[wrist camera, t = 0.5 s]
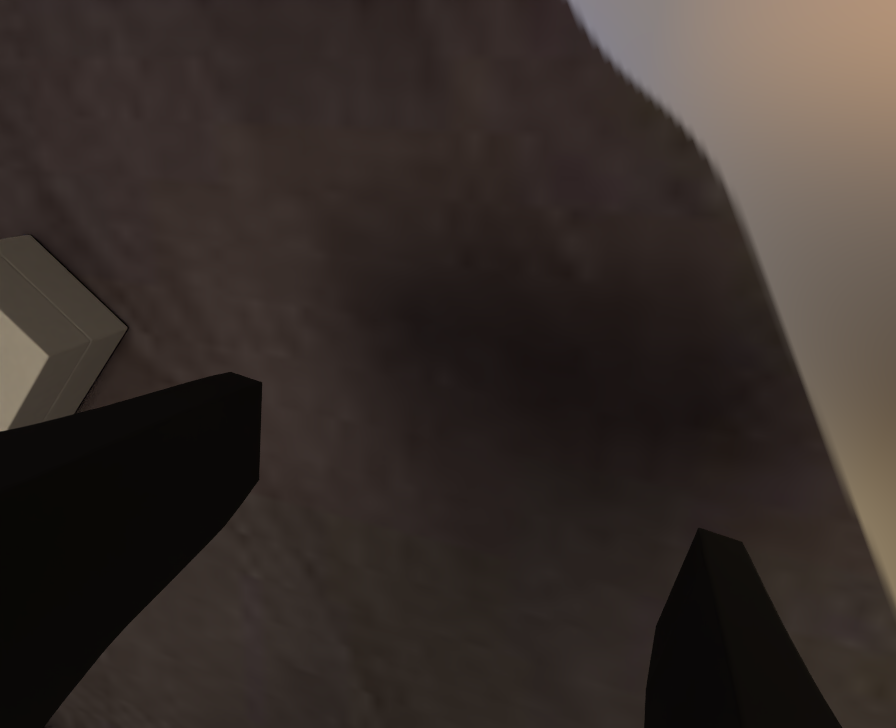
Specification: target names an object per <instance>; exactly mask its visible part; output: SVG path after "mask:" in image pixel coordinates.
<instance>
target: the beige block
mask: <svg viewBox="0 0 896 728" xmlns="http://www.w3.org/2000/svg"><path fill="white" fill-rule="evenodd" d="M126 330H127V326H126V325H125V324H124V323H123V322H121V321H120V320H119V319H118V318H117V317H116V316H115V315H114V314H113V313H112V312H111V311H110V310H109V309H108V308H107V307H106V306H105V305H104V304H103V303H101V302H100V301H99V300H98V299H97V298H96V297H95V296H94V295H93V294H92V293H91V292H90V291H89V290H88V289H87V288H86V287H85V286H84V285H83V284H81V283H80V282H79V281H78V280H77V279H76V278H75V277H74V276H73V275H72V274H71V273H70V272H69V271H68V270H67V269H66V268H65V267H64V266H62V265H61V264H60V263H59V262H58V261H57V260H56V259H55V258H54V257H53V256H52V255H51V254H50V253H49V252H48V251H47V250H46V249H45V248H44V247H42V246H41V245H40V244H39V243H38V242H37V241H36V240H35V239H34V238H33V237H32V236H31V235H24V236H17V237H11V238H5V239H0V431H5V430H10V429H15V428H20V427H24V426H29V425H33V424H37V423H41V422H45V421H49V420H53V419H57V418H61V417H65V416H69V415H73V414H74V413H75V412H76V410H77V408H78V407H79V405H80V404H81V402H82V400H83V399H84V397H85V396H86V394H87V392H88V391H89V389H90V388H91V386H92V384H93V383H94V381H95V380H96V378H97V376H98V375H99V373H100V372H101V370H102V368H103V367H104V365H105V364H106V362H107V361H108V359H109V357H110V356H111V354H112V353H113V351H114V349H115V348H116V346H117V345H118V343H119V341H120V340H121V338H122V337H123V335H124V333H125V332H126Z"/></svg>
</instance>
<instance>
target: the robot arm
mask: <svg viewBox="0 0 896 728" xmlns="http://www.w3.org/2000/svg"><path fill="white" fill-rule="evenodd" d="M261 402H262V382H259V381H256V380H253V379H250V378H247V377H244V376H241V375H238V374H235V373H232V372H228V373H223V374H218V375H214V376H210V377H206V378H202V379H198V380H195V381H191V382H188V383H184V384H181V385H177V386H174V387H170V388H167V389H163V390H160V391H156V392H153V393H149V394H146V395H142V396H139V397H136V398H132V399H129V400H125V401H122V402H118V403H115V404H111V405H108V406H104V407H100V408H96V409H93V410H89V411H85V412H81V413H77V414H73V415H69V416H65V417H61V418H57V419H53V420H49V421H45V422H41V423H37V424H33V425H29V426H24V427H20V428H15V429H10V430H5V431H0V728H43V727H44V726H45V724H46V723H47V722H48V721H49V719H50V718H51V717H52V715H53V714H54V713H55V711H56V710H57V709H58V708H59V706H60V705H61V704H62V702H63V701H64V700H65V699H66V697H67V696H68V695H69V694H70V692H71V691H72V690H73V689H74V687H75V686H76V685H77V684H78V683H79V681H80V680H81V679H82V678H83V676H84V675H85V674H86V673H87V671H88V670H89V669H90V668H91V667H92V665H93V664H94V663H95V662H96V660H97V659H98V658H99V657H100V655H101V654H102V653H103V652H104V651H105V649H106V648H107V647H108V646H109V645H110V644H111V643H112V642H113V640H114V639H115V638H116V637H117V636H118V635H119V634H120V633H121V632H122V631H123V629H124V628H125V627H126V626H127V625H128V624H129V623H130V622H131V621H132V620H133V619H134V618H135V617H136V616H137V615H138V614H139V613H140V612H141V611H142V610H143V609H144V608H145V607H146V606H147V605H148V604H149V603H150V602H151V601H152V600H153V599H154V598H155V597H156V596H157V595H158V594H159V593H160V592H161V591H162V590H163V589H164V588H165V587H166V586H167V585H168V584H169V583H170V582H171V581H172V580H173V579H174V578H175V577H176V576H177V575H178V574H179V572H180V571H181V570H182V569H183V568H184V567H185V566H186V565H187V564H188V563H189V562H190V561H191V560H192V559H193V558H194V557H195V556H196V555H197V554H198V553H199V552H200V551H201V550H202V549H203V548H204V547H205V546H206V545H207V544H208V543H209V542H210V541H211V540H212V539H213V538H214V537H215V536H216V535H217V533H218V532H219V531H220V530H221V529H222V528H223V527H224V526H225V525H226V524H227V522H228V521H229V520H230V518H231V517H232V516H233V514H234V513H235V512H236V511H237V509H238V508H239V507H240V505H241V504H242V503H243V501H244V500H245V498H246V497H247V496H248V494H249V493H250V492H251V490H252V489H253V487H254V486H255V485H256V483H257V482H258V480H259V464H260V433H261ZM644 728H842V727H841V725H840V723H839V722H838V720H837V719H836V717H835V715H834V714H833V712H832V711H831V709H830V707H829V706H828V704H827V702H826V701H825V699H824V697H823V696H822V694H821V692H820V691H819V689H818V687H817V685H816V684H815V682H814V680H813V678H812V677H811V675H810V673H809V671H808V669H807V667H806V666H805V664H804V662H803V660H802V658H801V657H800V655H799V653H798V651H797V649H796V647H795V646H794V644H793V642H792V640H791V638H790V636H789V634H788V633H787V631H786V629H785V627H784V625H783V623H782V621H781V619H780V617H779V615H778V613H777V611H776V609H775V607H774V605H773V603H772V601H771V599H770V597H769V595H768V593H767V591H766V589H765V587H764V585H763V583H762V581H761V579H760V577H759V575H758V573H757V570H756V568H755V566H754V564H753V562H752V560H751V558H750V556H749V554H748V552H747V550H746V548H745V546H744V545H743V543H742V542H741V541H738V540H735V539H732V538H729V537H726V536H723V535H720V534H717V533H714V532H711V531H708V530H705V529H702V528H698V530H697V532H696V535H695V537H694V539H693V542H692V544H691V546H690V549H689V551H688V553H687V556H686V558H685V560H684V563H683V565H682V567H681V570H680V572H679V574H678V576H677V579H676V581H675V583H674V586H673V588H672V590H671V593H670V595H669V597H668V600H667V602H666V604H665V607H664V609H663V611H662V614H661V616H660V618H659V621H658V623H657V625H656V630H655V636H654V642H653V648H652V654H651V660H650V667H649V673H648V680H647V687H646V701H645V725H644Z"/></svg>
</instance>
